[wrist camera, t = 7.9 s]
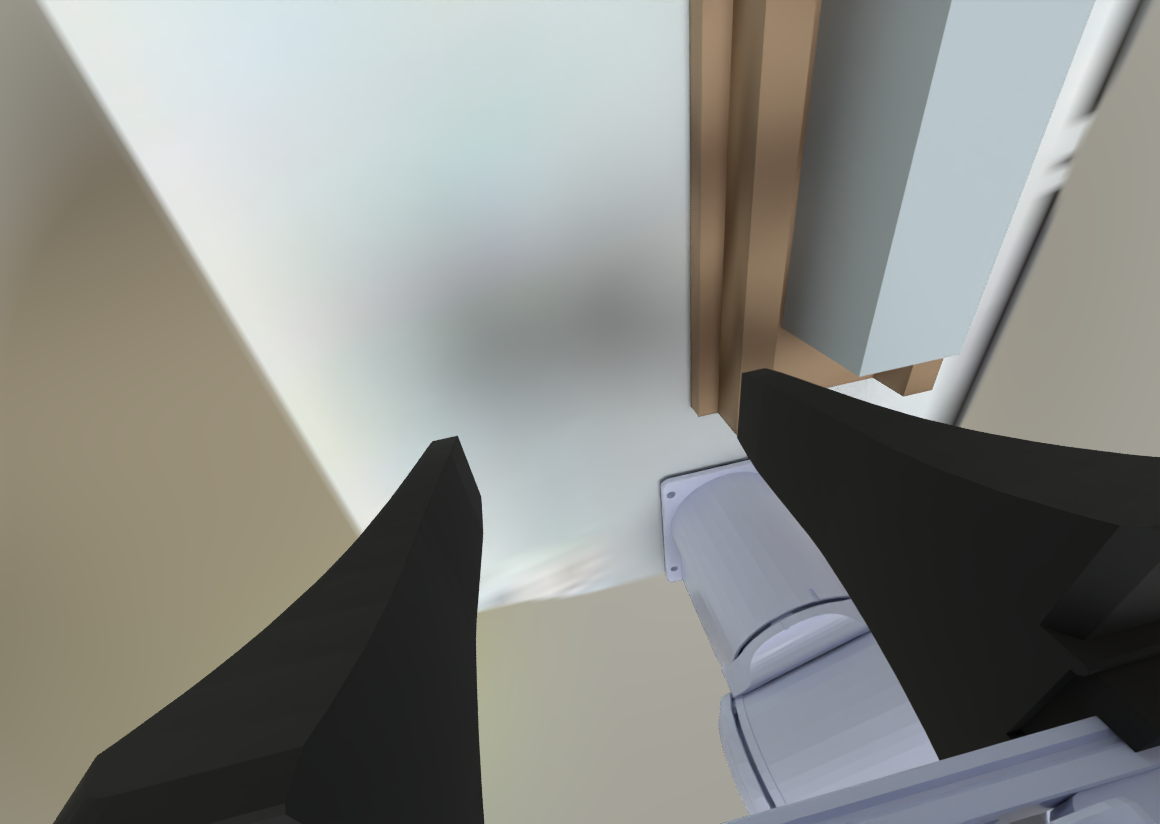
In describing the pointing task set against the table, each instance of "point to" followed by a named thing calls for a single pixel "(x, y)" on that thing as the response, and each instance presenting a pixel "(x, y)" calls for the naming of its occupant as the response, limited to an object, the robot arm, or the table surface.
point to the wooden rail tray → (753, 200)
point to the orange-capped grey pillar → (917, 167)
